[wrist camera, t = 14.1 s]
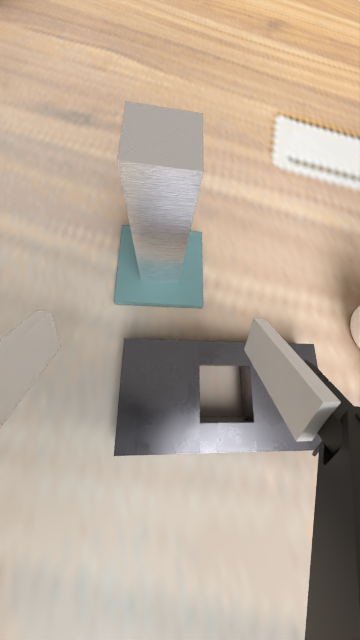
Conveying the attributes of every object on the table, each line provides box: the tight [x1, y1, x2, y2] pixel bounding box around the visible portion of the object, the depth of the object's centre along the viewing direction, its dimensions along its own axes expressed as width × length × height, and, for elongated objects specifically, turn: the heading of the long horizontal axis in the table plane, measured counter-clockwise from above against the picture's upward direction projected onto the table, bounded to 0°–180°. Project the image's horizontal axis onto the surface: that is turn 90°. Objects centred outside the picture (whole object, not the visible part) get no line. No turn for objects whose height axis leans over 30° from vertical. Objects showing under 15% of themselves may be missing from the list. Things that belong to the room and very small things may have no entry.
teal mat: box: [114, 225, 203, 308], centre depth 23 cm, size 10×10×1 cm
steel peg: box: [117, 101, 204, 282], centre depth 17 cm, size 4×4×13 cm
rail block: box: [114, 338, 322, 456], centre depth 20 cm, size 20×10×2 cm, turn 89°
